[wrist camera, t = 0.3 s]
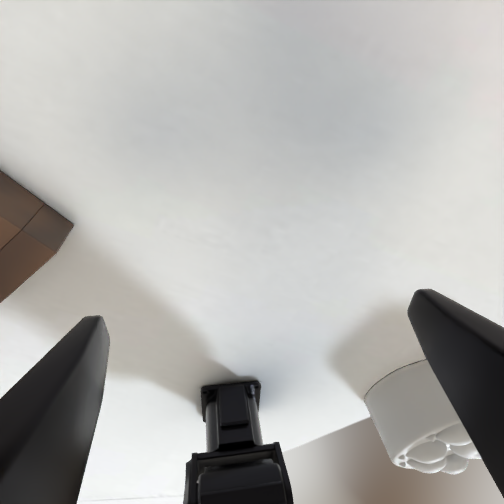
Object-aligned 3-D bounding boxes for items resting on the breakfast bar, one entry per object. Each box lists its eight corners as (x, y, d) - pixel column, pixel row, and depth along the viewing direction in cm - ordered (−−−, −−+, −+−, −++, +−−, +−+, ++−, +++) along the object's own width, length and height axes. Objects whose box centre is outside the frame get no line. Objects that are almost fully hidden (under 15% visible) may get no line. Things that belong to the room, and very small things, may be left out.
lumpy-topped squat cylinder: (460, 392, 44) (511, 462, 37) (367, 420, 44) (400, 494, 37) (467, 346, 38) (530, 419, 31) (360, 379, 39) (397, 458, 31)
